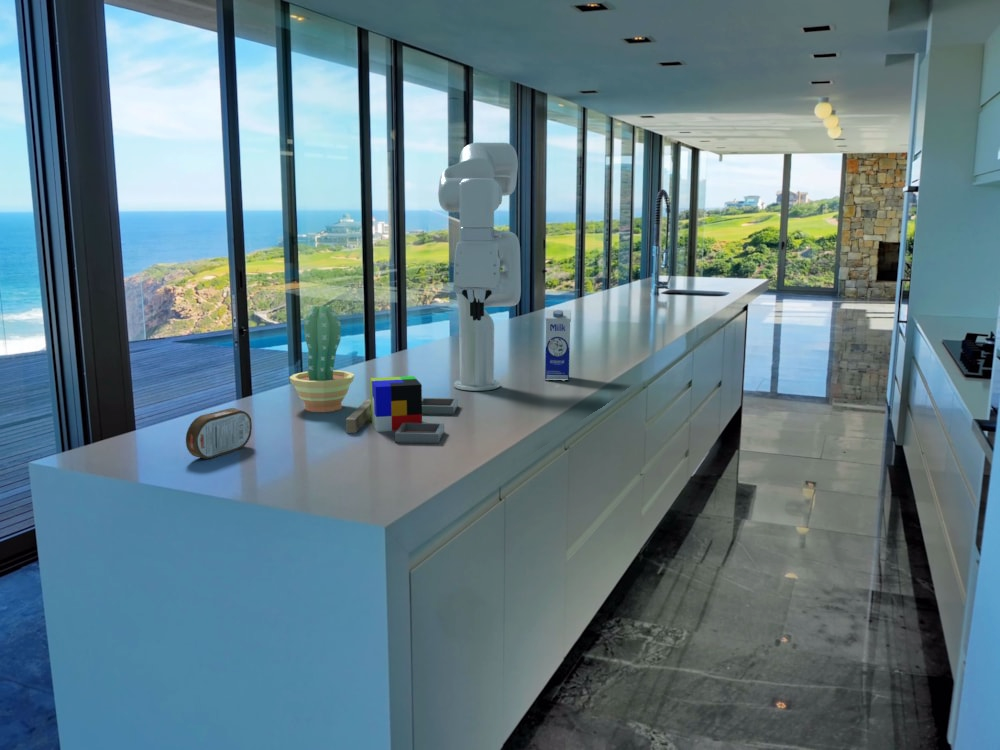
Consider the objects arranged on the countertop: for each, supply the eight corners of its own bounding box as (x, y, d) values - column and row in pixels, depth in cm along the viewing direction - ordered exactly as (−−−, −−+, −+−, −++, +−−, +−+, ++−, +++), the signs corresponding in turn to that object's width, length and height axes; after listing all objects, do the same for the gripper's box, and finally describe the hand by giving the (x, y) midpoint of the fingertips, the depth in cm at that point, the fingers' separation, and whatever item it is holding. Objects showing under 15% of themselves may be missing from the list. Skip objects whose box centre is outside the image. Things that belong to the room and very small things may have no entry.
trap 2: (421, 405, 202) (421, 397, 201) (457, 406, 201) (457, 398, 201) (415, 414, 193) (415, 406, 192) (453, 414, 192) (453, 406, 192)
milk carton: (569, 377, 239) (571, 308, 235) (569, 381, 232) (570, 311, 228) (545, 376, 239) (546, 308, 236) (544, 381, 233) (545, 311, 229)
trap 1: (403, 431, 177) (402, 422, 177) (444, 432, 176) (444, 423, 176) (395, 442, 168) (394, 433, 168) (438, 443, 168) (438, 434, 167)
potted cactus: (365, 403, 204) (363, 303, 200) (337, 417, 190) (333, 310, 185) (310, 399, 208) (306, 301, 204) (278, 412, 194) (273, 308, 189)
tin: (244, 443, 168) (242, 403, 166) (255, 445, 166) (253, 405, 165) (185, 462, 155) (182, 419, 153) (197, 464, 153) (194, 421, 152)
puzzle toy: (376, 431, 177) (375, 386, 175) (371, 421, 187) (370, 378, 185) (422, 429, 180) (421, 384, 178) (414, 418, 189) (413, 376, 187)
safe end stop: (367, 411, 195) (366, 399, 195) (375, 411, 195) (375, 399, 195) (346, 432, 176) (345, 419, 175) (355, 433, 176) (355, 419, 175)
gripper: (512, 235, 181) (511, 317, 185) (445, 235, 182) (446, 317, 186) (509, 237, 174) (509, 322, 177) (440, 236, 175) (441, 321, 179)
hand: (477, 319), depth 182 cm, fingers closed
